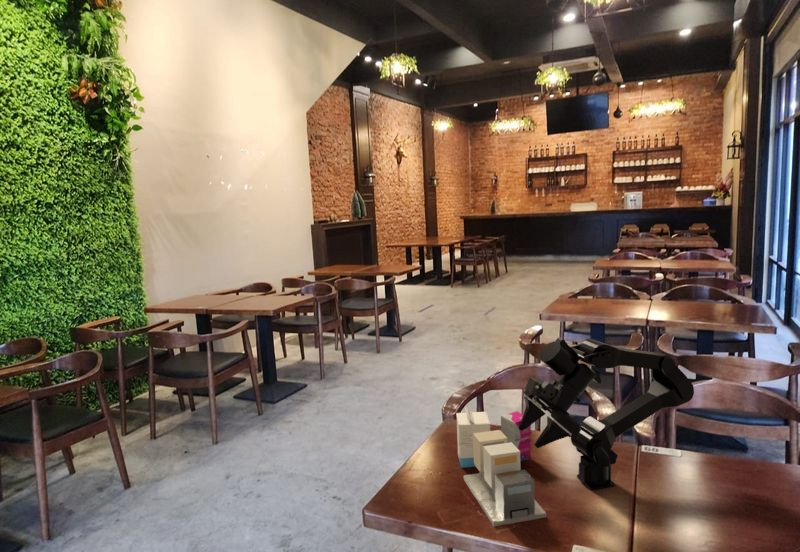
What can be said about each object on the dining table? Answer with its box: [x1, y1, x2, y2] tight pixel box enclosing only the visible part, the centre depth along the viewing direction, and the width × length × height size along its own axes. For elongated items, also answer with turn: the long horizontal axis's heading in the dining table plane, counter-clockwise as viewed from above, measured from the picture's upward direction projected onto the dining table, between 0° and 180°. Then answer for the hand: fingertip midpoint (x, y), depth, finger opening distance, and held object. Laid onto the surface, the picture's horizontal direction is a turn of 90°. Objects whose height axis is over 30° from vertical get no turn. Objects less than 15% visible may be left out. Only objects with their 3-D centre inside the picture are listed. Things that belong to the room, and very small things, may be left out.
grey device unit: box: [463, 469, 547, 527], centre depth 120 cm, size 12×20×9 cm, turn 11°
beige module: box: [473, 429, 508, 473], centre depth 126 cm, size 7×5×8 cm
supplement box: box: [500, 411, 532, 462], centre depth 139 cm, size 6×6×12 cm
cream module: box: [483, 442, 522, 488], centre depth 119 cm, size 7×5×8 cm
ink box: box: [455, 406, 492, 469], centre depth 139 cm, size 9×8×13 cm
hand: (527, 437), depth 121 cm, fingers open, 9 cm apart
